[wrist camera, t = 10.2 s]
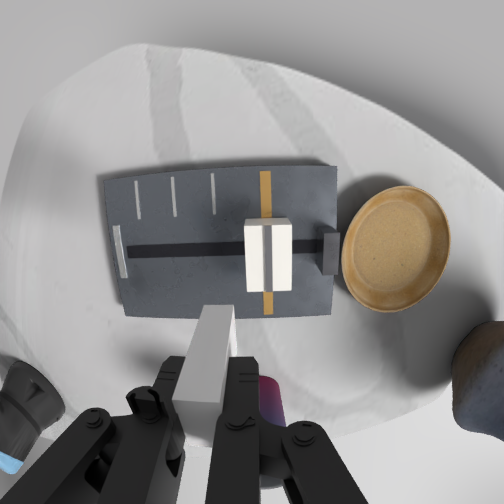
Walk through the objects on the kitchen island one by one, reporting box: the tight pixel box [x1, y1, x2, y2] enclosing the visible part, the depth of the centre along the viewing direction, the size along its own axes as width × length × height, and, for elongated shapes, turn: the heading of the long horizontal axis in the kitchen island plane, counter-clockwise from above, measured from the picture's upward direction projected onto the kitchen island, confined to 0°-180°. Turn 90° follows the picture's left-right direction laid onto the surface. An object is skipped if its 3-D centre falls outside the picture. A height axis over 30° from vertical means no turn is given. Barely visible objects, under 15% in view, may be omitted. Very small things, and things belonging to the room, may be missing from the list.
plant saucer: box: [341, 186, 451, 313], centre depth 29 cm, size 15×15×3 cm
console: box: [104, 165, 340, 319], centre depth 27 cm, size 24×16×5 cm, turn 92°
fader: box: [244, 218, 292, 292], centre depth 26 cm, size 4×6×4 cm, turn 2°
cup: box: [259, 376, 286, 489], centre depth 29 cm, size 7×7×15 cm
